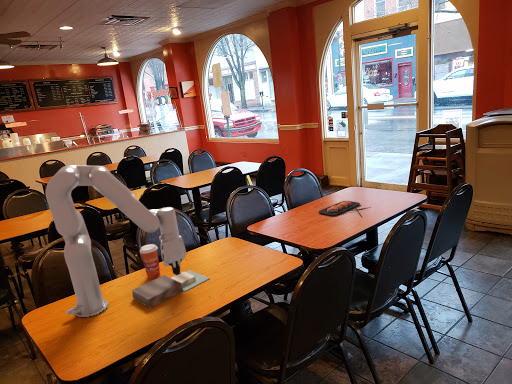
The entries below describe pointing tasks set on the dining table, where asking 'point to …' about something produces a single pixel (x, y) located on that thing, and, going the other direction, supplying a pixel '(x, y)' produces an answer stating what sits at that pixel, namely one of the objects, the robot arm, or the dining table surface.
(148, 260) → the coffee cup
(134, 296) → the grey rectangular block
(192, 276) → the beige rectangular block
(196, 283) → the mat
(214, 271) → the dining table surface
